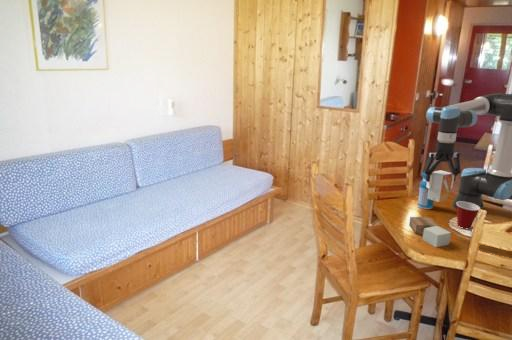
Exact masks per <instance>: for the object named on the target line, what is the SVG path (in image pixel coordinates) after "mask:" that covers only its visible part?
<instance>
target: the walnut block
mask: <svg viewBox="0 0 512 340" xmlns="http://www.w3.org/2000/svg"><path fill="white" fill-rule="evenodd" d="M408 226H409V227H410V228H411V230H412V232H413V233H414V234H415V235H423V232H424V228H428V227H433V226H439V225H438V224H437V223H436V221H434V220H433V218H432V217H425V216H424V217H423V216H422V217H421V216H410V217H409V225H408Z"/></svg>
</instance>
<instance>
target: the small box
mask: <svg viewBox="0 0 512 340" xmlns="http://www.w3.org/2000/svg"><path fill="white" fill-rule="evenodd" d="M431 175H432V183H431V189H428V196H427V199H430V200H433V201H434V202H437V203H441V202H443V201H447V200H448V199H449V197H450V196H449V195H450V191H451V189H450V185H451V179H452V173H451V171H450V172H449V171H445V170H442V169H441V170H434V171H433V172H432V174H431Z"/></svg>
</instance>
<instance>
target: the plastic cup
mask: <svg viewBox="0 0 512 340" xmlns="http://www.w3.org/2000/svg"><path fill="white" fill-rule="evenodd" d="M456 204H457V208H456V220H457V224H456V225H457V227H458V226H460V227H463V228H470V227H471V228H472V225H473V223H474V221H475V219H476V216H477V214H478V213H479V212H478V210H479V209H480V207H479V206H478V205H475V204H473V203H470V202H465V201H459V202H456ZM460 227H459V228H460ZM471 228H470V229H471Z"/></svg>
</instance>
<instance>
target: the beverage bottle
mask: <svg viewBox="0 0 512 340" xmlns="http://www.w3.org/2000/svg"><path fill="white" fill-rule="evenodd" d="M419 185H420V186H419V188H418V190H419V191H418V199H417V205H416V206H417V207H419V208H420V209H424V210H431V209H433V208H434V202H435V201H433V200H430V199H427V196H428V188H427V187H426V185H427V181H426V174H425V173H423V172H422V180H421V181H420V183H419Z"/></svg>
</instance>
